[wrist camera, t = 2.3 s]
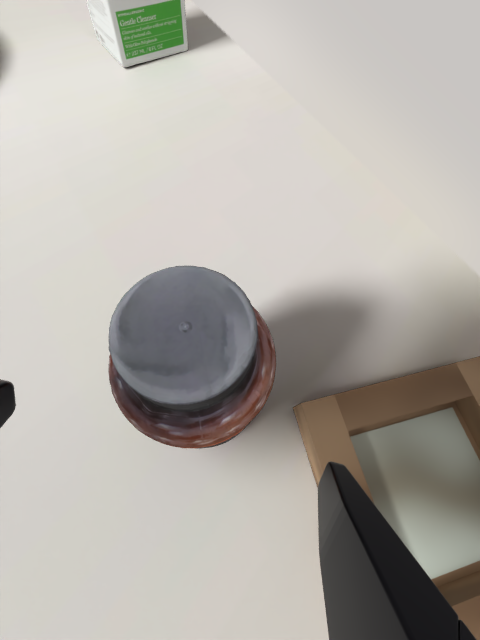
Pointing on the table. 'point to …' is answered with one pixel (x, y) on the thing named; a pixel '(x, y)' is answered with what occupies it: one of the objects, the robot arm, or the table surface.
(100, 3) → the skincare box
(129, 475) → the table surface
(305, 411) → the socket block
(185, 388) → the supplement bottle
